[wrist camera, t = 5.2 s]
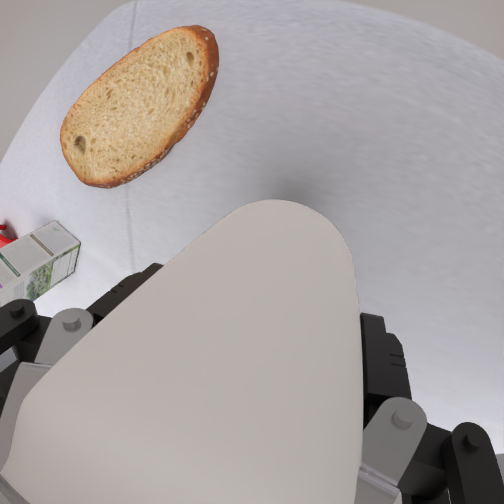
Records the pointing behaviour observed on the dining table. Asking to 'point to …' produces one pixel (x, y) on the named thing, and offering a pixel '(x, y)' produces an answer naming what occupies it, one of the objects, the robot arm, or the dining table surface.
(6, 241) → the red plastic domed piece
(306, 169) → the dining table surface
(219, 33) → the dining table surface
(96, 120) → the slice of bread
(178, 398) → the can
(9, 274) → the syrup box
